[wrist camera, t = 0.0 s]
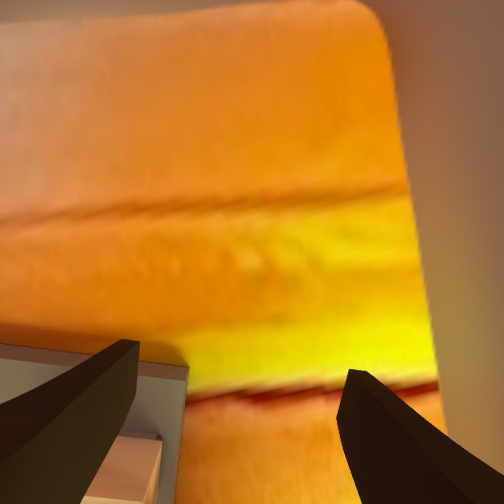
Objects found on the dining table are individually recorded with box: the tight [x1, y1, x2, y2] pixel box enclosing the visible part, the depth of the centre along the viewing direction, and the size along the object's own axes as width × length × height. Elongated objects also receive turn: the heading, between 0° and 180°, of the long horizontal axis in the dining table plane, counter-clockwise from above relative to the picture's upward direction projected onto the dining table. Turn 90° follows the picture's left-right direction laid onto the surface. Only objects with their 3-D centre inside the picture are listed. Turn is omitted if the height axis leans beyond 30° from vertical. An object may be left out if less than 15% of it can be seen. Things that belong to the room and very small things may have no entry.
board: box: [0, 344, 189, 504], centre depth 22 cm, size 14×20×2 cm
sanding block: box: [80, 430, 163, 504], centre depth 19 cm, size 5×7×4 cm
